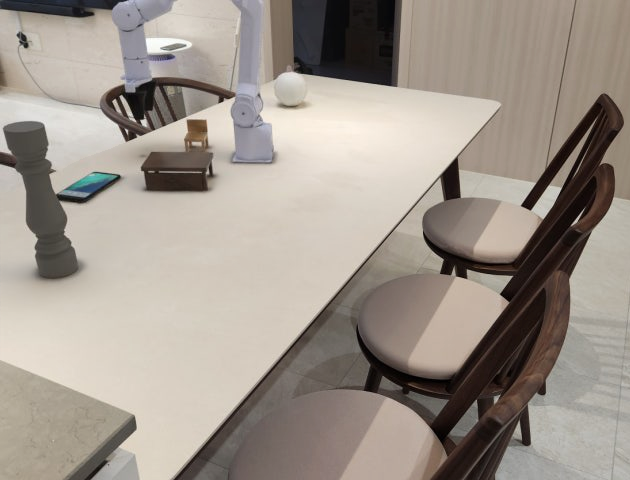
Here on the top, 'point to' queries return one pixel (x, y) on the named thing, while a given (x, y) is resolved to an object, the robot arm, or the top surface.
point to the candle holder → (41, 199)
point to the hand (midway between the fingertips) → (144, 115)
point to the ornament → (290, 88)
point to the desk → (177, 164)
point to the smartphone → (87, 186)
